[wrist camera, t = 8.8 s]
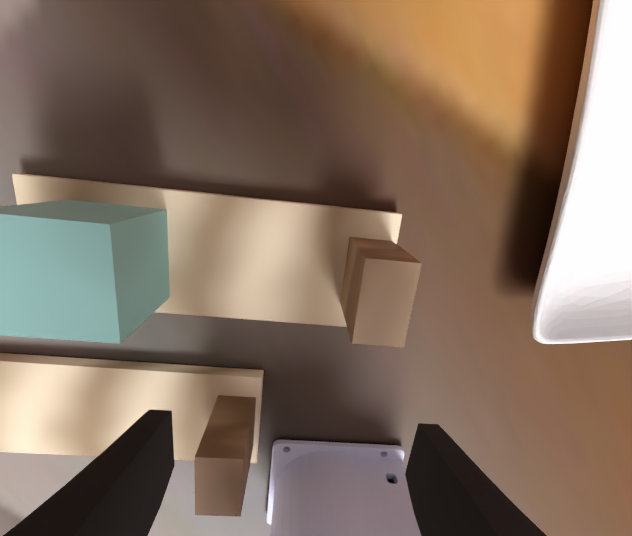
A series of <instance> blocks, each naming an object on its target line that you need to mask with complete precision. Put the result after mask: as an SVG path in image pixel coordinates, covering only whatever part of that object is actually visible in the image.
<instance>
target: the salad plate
mask: <svg viewBox="0 0 632 536" xmlns="http://www.w3.org/2000/svg"><path fill="white" fill-rule="evenodd" d="M531 331H532V335H533V337H534V339H535V340H537V341H538V342H540V343H543V344H565V343H586V342H601V341H617V340H632V0H593V5H592V12H591V18H590V24H589V31H588V37H587V43H586V49H585V56H584V62H583V68H582V73H581V79H580V84H579V90H578V95H577V101H576V106H575V111H574V117H573V122H572V128H571V133H570V138H569V144H568V149H567V154H566V159H565V164H564V169H563V174H562V179H561V183H560V188H559V192H558V197H557V202H556V206H555V211H554V215H553V219H552V223H551V227H550V231H549V236H548V240H547V244H546V248H545V252H544V256H543V260H542V264H541V267H540V271H539V275H538V279H537V283H536V286H535V291H534V296H533V301H532V308H531Z"/></svg>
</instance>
